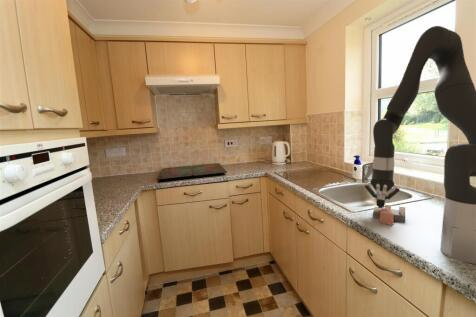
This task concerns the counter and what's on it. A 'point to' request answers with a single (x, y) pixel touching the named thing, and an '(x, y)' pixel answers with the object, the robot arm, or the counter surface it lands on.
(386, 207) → the breaker tagged
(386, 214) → the pink cube
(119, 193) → the counter surface
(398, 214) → the dark grey flat block
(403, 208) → the breaker plain
